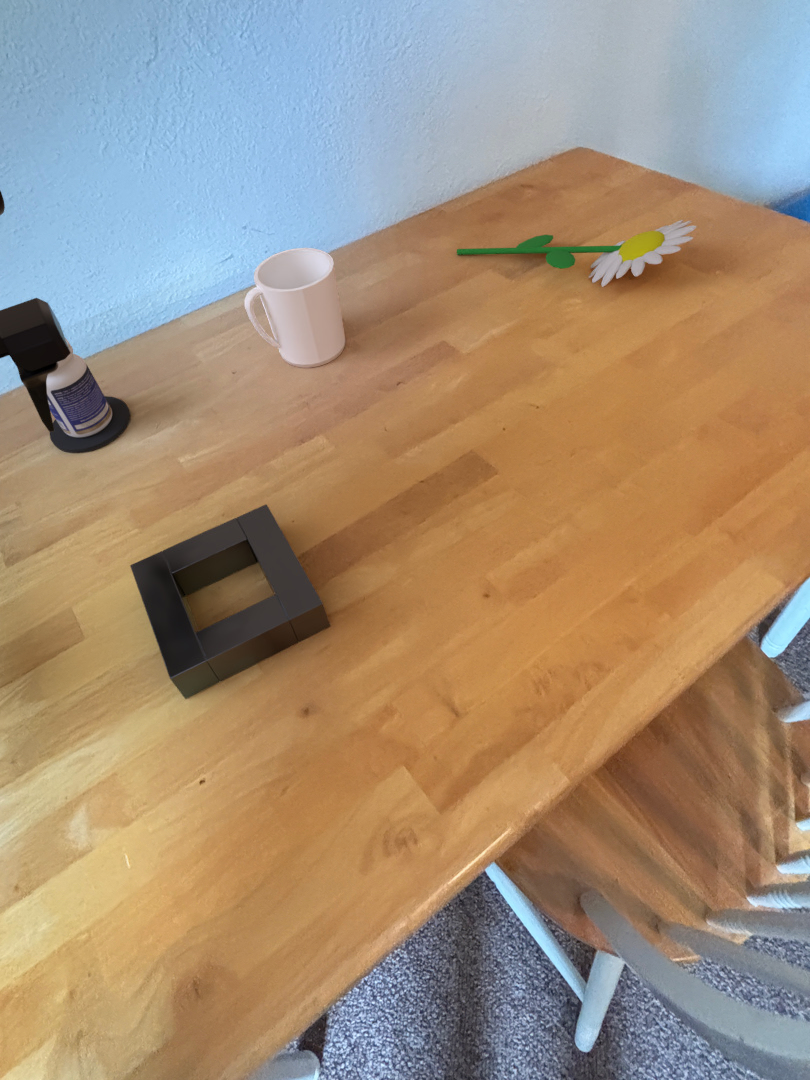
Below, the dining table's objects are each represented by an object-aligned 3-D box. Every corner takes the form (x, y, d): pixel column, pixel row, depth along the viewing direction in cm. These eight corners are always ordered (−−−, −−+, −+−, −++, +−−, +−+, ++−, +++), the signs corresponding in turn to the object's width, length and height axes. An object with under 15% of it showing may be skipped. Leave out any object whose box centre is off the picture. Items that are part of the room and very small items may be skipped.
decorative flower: (443, 295, 94) (683, 297, 81) (437, 259, 90) (686, 256, 77) (477, 251, 101) (701, 247, 88) (472, 217, 98) (704, 207, 85)
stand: (185, 699, 57) (169, 678, 54) (145, 588, 65) (129, 564, 62) (331, 626, 60) (323, 603, 57) (275, 528, 68) (266, 503, 65)
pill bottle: (121, 405, 81) (81, 331, 74) (103, 439, 78) (59, 365, 70) (75, 406, 82) (31, 332, 75) (55, 439, 79) (7, 366, 71)
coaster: (59, 464, 77) (56, 460, 76) (45, 419, 82) (43, 415, 82) (139, 432, 79) (137, 428, 78) (120, 390, 84) (118, 386, 84)
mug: (327, 317, 89) (310, 239, 81) (363, 349, 84) (348, 269, 76) (249, 352, 86) (223, 275, 78) (281, 388, 81) (257, 309, 73)
